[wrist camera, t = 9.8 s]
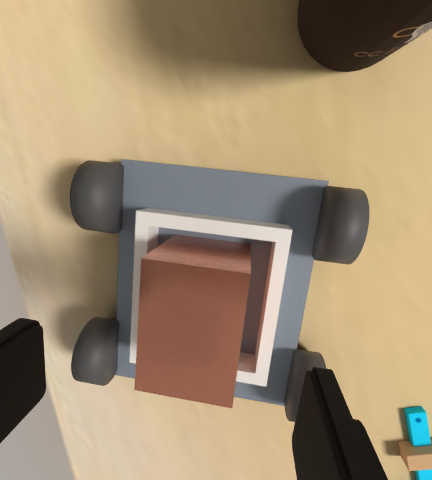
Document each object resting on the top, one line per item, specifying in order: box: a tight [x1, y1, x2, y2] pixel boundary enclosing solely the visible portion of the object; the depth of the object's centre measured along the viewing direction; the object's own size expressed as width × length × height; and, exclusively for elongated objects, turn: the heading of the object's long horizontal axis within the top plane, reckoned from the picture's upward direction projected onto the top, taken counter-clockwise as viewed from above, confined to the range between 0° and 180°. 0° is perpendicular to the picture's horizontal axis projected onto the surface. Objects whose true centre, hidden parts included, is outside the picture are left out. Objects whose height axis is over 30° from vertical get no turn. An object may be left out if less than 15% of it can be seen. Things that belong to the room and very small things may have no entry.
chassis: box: [70, 159, 369, 422], centre depth 18 cm, size 16×16×4 cm
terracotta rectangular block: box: [135, 234, 251, 408], centre depth 16 cm, size 7×5×6 cm
